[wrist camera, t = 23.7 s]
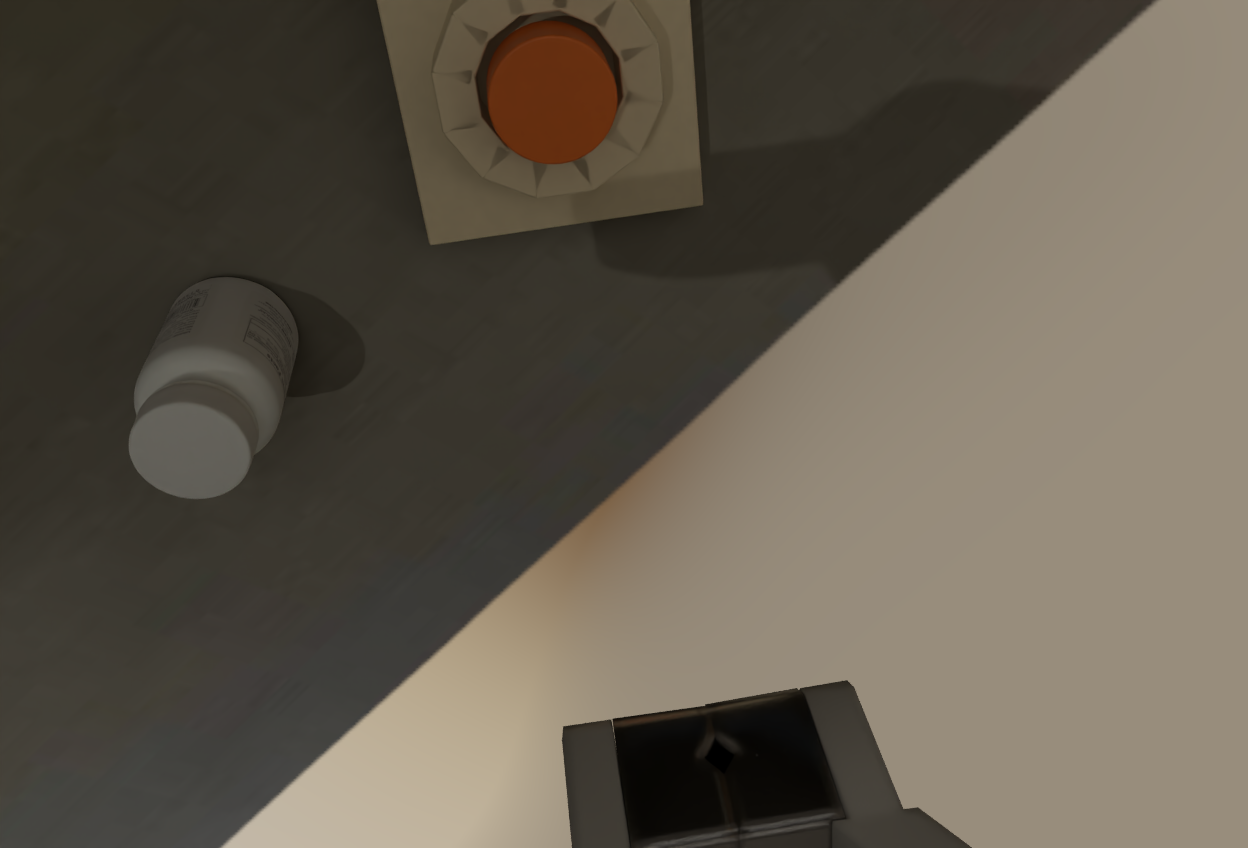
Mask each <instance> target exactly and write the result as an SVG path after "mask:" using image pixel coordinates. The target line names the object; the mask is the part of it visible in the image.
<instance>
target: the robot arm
mask: <svg viewBox="0 0 1248 848" xmlns="http://www.w3.org/2000/svg"><path fill="white" fill-rule="evenodd" d="M613 727H614V732H613ZM614 735H615V738H614ZM615 742H616V744H615ZM562 744H563V754H564V765H565V776H566V787H567V797H568V808H569V819H570V830H571V841H572V848H972V847H970V846H969V845H967V844H966V843H965V842H964V841H962V840H961V839H959V838H958V837H957V836H955V835H954V834H953V833H951V832H950V831H949V830H947V829H946V828H945V827H943V826H942V825H941V824H939V823H938V822H937V821H935V820H934V819H933V818H931V817H930V816H929V815H927V814H926V813H925V812H923V811H922V810H921V809H919V808H910V809H903V807H902V805H901V802H900V800H899V798H898V795H897V792H896V790H895V787H894V785H893V783H892V780H891V778H890V775H889V773H888V770H887V768H886V765H885V763H884V760H883V758H882V755H881V753H880V750H879V748H878V745H877V743H876V741H875V738H874V736H873V733H872V731H871V728H870V726H869V723H868V721H867V718H866V716H865V714H864V711H863V708H862V706H861V704H860V701H859V699H858V696H857V694H856V691H855V689H854V687H853V686H852V685H851V684H850V683H849V682H848V681H841V682H835V683H829V684H823V685H817V686H812V687H805V688H800V690H798V689H797V688H795V689H790V690H784V691H779V692H773V693H767V694H762V695H756V696H751V697H745V698H739V699H733V700H728V701H722V702H716V703H711V704H706V705H705V706H701V707H694V708H687V709H679V710H672V711H665V712H658V713H651V714H644V715H637V716H630V717H623V718H615V719H613V726H612V722H611V720H605V721H598V722H591V723H584V724H578V725H570V726H564V727H563V737H562ZM616 749H617V750H616Z"/></svg>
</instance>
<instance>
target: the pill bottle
mask: <svg viewBox="0 0 1248 848" xmlns="http://www.w3.org/2000/svg"><path fill="white" fill-rule="evenodd" d="M297 349H298V330H297V326H296V323H295V320H294V318H293V316H292V314H291V312H290V310H289V309H288V307H287V306H286V305H285V303H284V302H283V301H282V300H281V299H280V298H279V297H278V296H277V295H276V294H275V293H273V292H272V291H271V290H269V289H268V288H266V287H264V286H262V285H260V284H257V283H255V282H252V281H249V280H246V279H241V278H234V277H217V278H210V279H206V280H204V281H201V282H198V283H196V284H194V285H193V286H191V287H189V288H188V289H187V290H185V291H184V292H183V293H182V294H181V295H180V296H179V297H178V298H177V299H176V300H175V302H174V304H173V306H172V307H171V309H170V312H169V314H168V316H167V318H166V320H165V322H164V324H163V326H162V328H161V330H160V333H159V335H158V337H157V339H156V341H155V343H154V345H153V347H152V349H151V351H150V353H149V355H148V357H147V359H146V361H145V363H144V365H143V367H142V369H141V372H140V374H139V376H138V379H137V382H136V385H135V390H134V406H135V411H136V415H137V417H136V419H135V422H134V424H133V427H132V429H131V432H130V436H129V454H130V457H131V460H132V462H133V464H134V466H135V468H136V469H137V471H138V472H139V474H140V475H141V476H142V477H143V478H144V479H145V480H146V481H148V482H149V483H150V484H152V485H153V486H154V487H156V488H157V489H159V490H162V491H164V492H166V493H168V494H171V495H174V496H177V497H182V498H189V499H206V498H211V497H216V496H220V495H222V494H224V493H226V492H229V491H230V490H232V489H233V488H235V487H236V486H237V485H238V484H239V483H240V482H241V481H242V480H243V479H244V477H245V476H246V474H247V472H248V470H249V468H250V465H251V462H252V460H253V457H254V455H255V454H256V453H258V452H259V451H260V450H262V449H263V448H264V447H265V446H266V445H267V444H268V442H269V441H270V440H271V438H272V437H273V435H274V433H275V432H276V429H277V427H278V424H279V421H280V417H281V414H282V410H283V406H284V402H285V399H286V394H287V390H288V386H289V382H290V378H291V374H292V370H293V366H294V363H295V359H296V353H297Z"/></svg>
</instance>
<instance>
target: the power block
mask: <svg viewBox="0 0 1248 848" xmlns="http://www.w3.org/2000/svg"><path fill="white" fill-rule="evenodd" d="M376 1H377V5H378V10H379V15H380V19H381V24H382V28H383V33H384V38H385V42H386V47H387V51H388V56H389V61H390V65H391V70H392V74H393V79H394V84H395V88H396V93H397V97H398V102H399V107H400V111H401V116H402V120H403V125H404V130H405V134H406V139H407V143H408V148H409V153H410V157H411V162H412V166H413V171H414V176H415V180H416V185H417V189H418V194H419V199H420V203H421V208H422V212H423V217H424V222H425V226H426V231H427V235H428V240H429V244H430V245H436V244H443V243H450V242H456V241H463V240H470V239H477V238H484V237H490V236H497V235H504V234H511V233H518V232H525V231H531V230H538V229H545V228H552V227H559V226H566V225H572V224H579V223H586V222H593V221H600V220H607V219H613V218H620V217H627V216H634V215H641V214H648V213H654V212H661V211H668V210H675V209H682V208H689V207H695V206H702V205H703V190H702V175H701V160H700V145H699V130H698V115H697V100H696V85H695V70H694V55H693V40H692V25H691V10H690V0H376ZM548 20H549V21H559V22H564V23H567V24H570V25H573V26H575V27H577V28H579V29H581V30H582V31H584V32H585V33H587V34H588V35H589V36H590V37H591V38H592V39H593V40H594V41H595V42H596V43H597V44H598V45H599V47H600V48H601V50H602V52H603V53H604V55H605V57H606V60H607V62H608V64H609V67H610V69H611V71H612V74H613V76H614V79H615V83H616V87H617V96H618V103H617V111H616V116H615V119H614V122H613V125H612V127H611V129H610V131H609V133H608V134H607V135H606V137H605V138H604V140H603V141H602V142H601V143H600V144H599V145H598V146H597V147H596V148H595V149H594V150H593V151H591V152H590V153H588V154H587V155H585V156H583V157H581V158H579V159H577V160H574V161H572V162H568V163H563V164H542V163H537V162H534V161H530V160H528V159H526V158H523V157H521V156H520V155H518V154H517V153H515V152H514V151H512V150H511V149H510V148H509V147H508V146H507V145H506V144H505V143H504V142H503V141H502V140H501V138H500V137H499V136H498V134H497V132H496V130H495V129H494V127H493V124H492V122H491V119H490V115H489V111H488V102H487V88H486V79H487V72H488V67H489V64H490V61H491V58H492V56H493V54H494V52H495V51H496V49H497V47H498V46H499V45H500V44H501V42H502V41H503V40H504V39H505V38H506V37H507V36H508V35H509V34H511V33H512V32H514V31H515V30H516V29H518V28H520V27H522V26H524V25H527V24H530V23H533V22H538V21H548Z"/></svg>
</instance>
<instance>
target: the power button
mask: <svg viewBox="0 0 1248 848" xmlns="http://www.w3.org/2000/svg"><path fill="white" fill-rule="evenodd" d="M486 88H487V102H488V111H489V115H490V119H491V122H492V124H493V127H494V129H495V130H496V132H497V134H498V136H499V137H500V138H501V140H502V141H503V142H504V143H505V144H506V145H507V146H508V147H509V148H510V149H511V150H512V151H514V152H515V153H517V154H518V155H520V156H521V157H523V158H526V159H528V160H530V161H534V162H537V163H542V164H563V163H568V162H572V161H574V160H577V159H579V158H581V157H583V156H585V155H587V154H588V153H590V152H591V151H593V150H594V149H595V148H596V147H597V146H598V145H599V144H600V143H601V142H602V141H603V140H604V138H605V137H606V135H607V134H608V133H609V131H610V129H611V127H612V125H613V122H614V119H615V116H616V111H617V103H618V96H617V87H616V83H615V79H614V76H613V74H612V71H611V69H610V67H609V64H608V62H607V60H606V57H605V55H604V53H603V52H602V50H601V48H600V47H599V45H598V44H597V43H596V42H595V41H594V40H593V39H592V38H591V37H590V36H589V35H588V34H587V33H585V32H584V31H582V30H581V29H579V28H577V27H575V26H573V25H570V24H567V23H564V22H559V21H549V20H548V21H538V22H533V23H530V24H527V25H524V26H522V27H520V28H518V29H516V30H515V31H514V32H512V33H511V34H509V35H508V36H507V37H506V38H505V39H504V40H503V41H502V42H501V44H500V45H499V46H498V47H497V49H496V51H495V52H494V54H493V56H492V58H491V61H490V64H489V67H488V72H487V79H486Z"/></svg>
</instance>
